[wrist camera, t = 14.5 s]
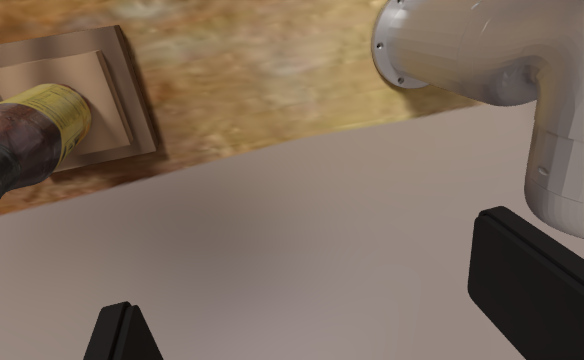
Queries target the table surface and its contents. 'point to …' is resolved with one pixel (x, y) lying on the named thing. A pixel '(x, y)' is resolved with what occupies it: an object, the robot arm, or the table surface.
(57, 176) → the table surface
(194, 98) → the table surface
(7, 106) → the sauce bottle
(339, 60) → the table surface
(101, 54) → the pedestal
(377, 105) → the table surface
